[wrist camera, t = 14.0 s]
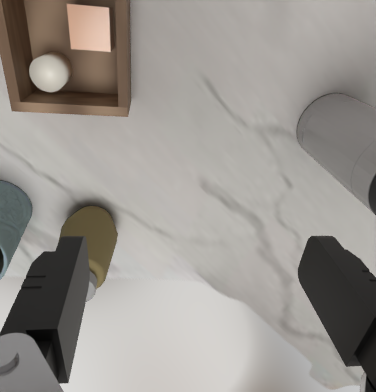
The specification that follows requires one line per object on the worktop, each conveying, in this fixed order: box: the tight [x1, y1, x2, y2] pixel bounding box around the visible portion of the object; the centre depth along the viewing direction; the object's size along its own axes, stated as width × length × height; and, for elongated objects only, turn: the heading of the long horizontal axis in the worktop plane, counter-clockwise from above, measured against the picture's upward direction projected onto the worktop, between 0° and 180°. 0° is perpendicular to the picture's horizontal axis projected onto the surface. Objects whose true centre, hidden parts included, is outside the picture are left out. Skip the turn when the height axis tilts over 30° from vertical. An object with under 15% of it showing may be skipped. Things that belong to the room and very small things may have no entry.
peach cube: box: [67, 4, 114, 52], centre depth 33 cm, size 4×4×4 cm
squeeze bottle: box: [59, 206, 118, 302], centre depth 42 cm, size 8×8×18 cm
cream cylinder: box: [29, 52, 73, 92], centre depth 35 cm, size 4×4×4 cm
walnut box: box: [0, 0, 131, 117], centre depth 34 cm, size 12×12×7 cm
